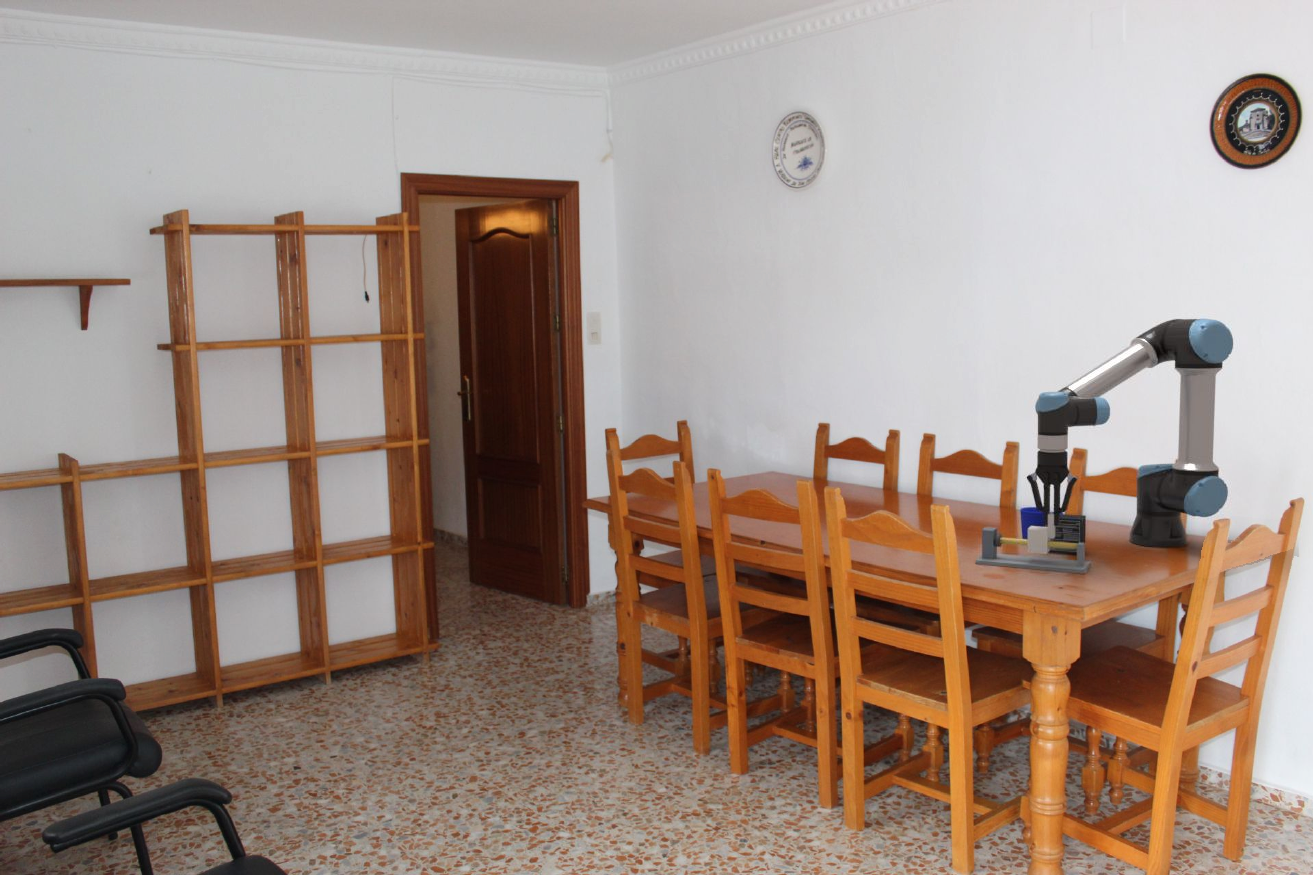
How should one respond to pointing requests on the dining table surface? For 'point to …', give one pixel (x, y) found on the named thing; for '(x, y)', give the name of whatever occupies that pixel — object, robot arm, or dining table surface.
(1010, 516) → the dining table surface
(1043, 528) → the sleeve
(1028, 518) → the mug
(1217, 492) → the robot arm
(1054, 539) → the small box
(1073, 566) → the cord stand
